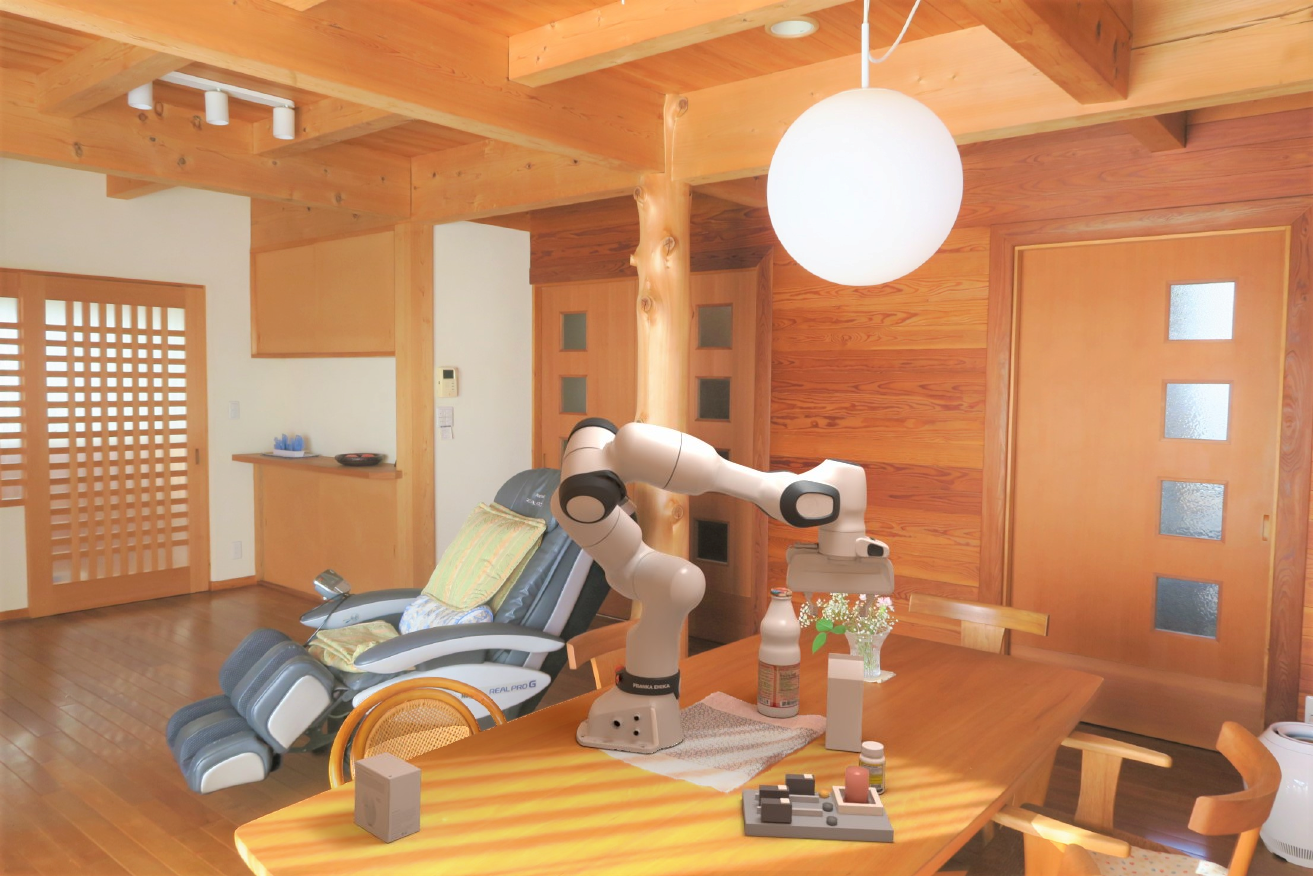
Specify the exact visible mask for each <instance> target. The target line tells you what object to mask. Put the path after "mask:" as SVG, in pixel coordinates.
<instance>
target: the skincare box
mask: <svg viewBox="0 0 1313 876" xmlns="http://www.w3.org/2000/svg"><path fill="white" fill-rule="evenodd" d="M421 787H422V769H421V768H420V767H417V766H416V765H413V764H411V763H410V762H407V761H406V760H403V759H401V758H399V757H397V756H396V755H393V754H391V753H389V752H387V751H385V752H383V753H379V754H376V755H372V756H369V757H365V758H362V759H361V758H360V759H358V760H355V762H354V811H353V812H354V815H353V823H354V824H356V825H357V826H358V827H360V828H362V829H364V830H365V831H367V832H369V833H370V834H371V835H374V836H375V837H377V838H378V839H380V840H382V842H384V843H386V844H389V843H392V842H394V841H396V840H397V841H398V840H400V839H402V838H404V837H407V836H410V835H413V834H414V833H415V834H416V833H417V832H419V831H420V830H421V790H422V789H421Z"/></svg>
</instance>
